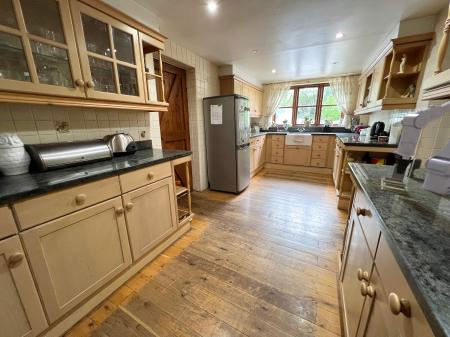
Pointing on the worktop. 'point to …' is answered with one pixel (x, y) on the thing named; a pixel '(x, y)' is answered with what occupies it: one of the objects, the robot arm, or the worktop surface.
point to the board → (394, 185)
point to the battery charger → (414, 167)
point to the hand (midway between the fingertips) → (399, 172)
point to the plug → (395, 174)
